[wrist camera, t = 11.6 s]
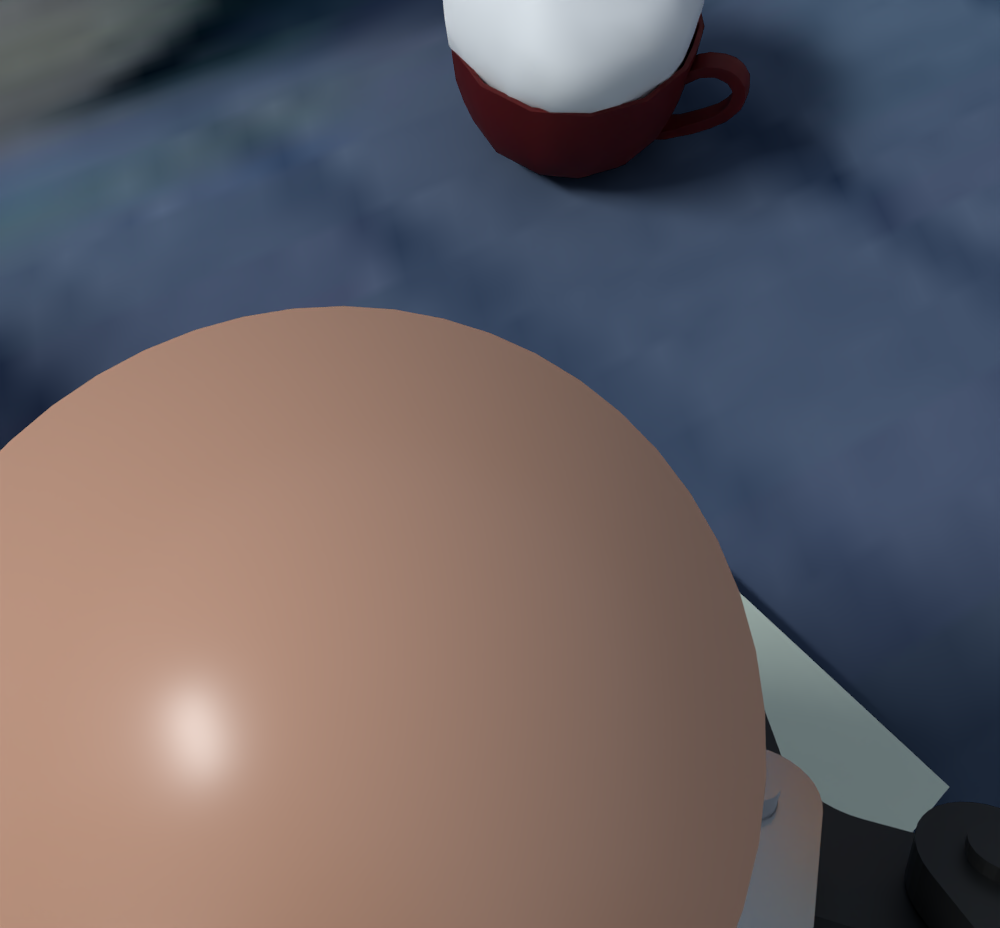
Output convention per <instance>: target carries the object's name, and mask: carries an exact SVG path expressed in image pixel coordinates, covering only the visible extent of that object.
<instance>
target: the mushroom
mask: <svg viewBox="0 0 1000 928" xmlns="http://www.w3.org/2000/svg"><path fill="white" fill-rule="evenodd" d="M765 784H766V733H765V709H764V702H763V695H762V688H761V681H760V674H759V667H758V661H757V654H756V649H755V646H754V642H753V638H752V635H751V631H750V628H749V624H748V620H747V617H746V613H745V610H744V606H743V602H742V599H741V595H740V592H739V590H738V588H737V585H736V583H735V581H734V578H733V576H732V573H731V571H730V569H729V566H728V564H727V562H726V559H725V557H724V554H723V552H722V550H721V547H720V545H719V543H718V540H717V539H716V537H715V535H714V533H713V532H712V530H711V528H710V527H709V525H708V523H707V521H706V520H705V518H704V516H703V514H702V513H701V511H700V509H699V508H698V506H697V504H696V502H695V501H694V499H693V497H692V495H691V494H690V492H689V491H688V490H687V488H686V487H685V486H684V484H683V483H682V482H681V480H680V479H679V478H678V476H677V475H676V474H675V473H674V471H673V470H672V469H671V467H670V466H669V465H668V463H667V462H666V461H665V459H664V458H663V457H662V455H661V454H660V453H659V452H658V450H657V449H656V448H655V447H654V446H653V445H652V444H651V443H650V442H649V441H648V440H647V439H646V438H645V437H644V436H643V435H642V434H641V433H640V432H639V431H638V430H637V429H636V428H635V427H634V426H633V425H632V424H631V423H630V422H629V421H628V420H627V419H626V418H625V417H624V416H623V415H622V414H621V412H619V411H618V410H617V409H616V408H614V407H613V406H612V405H610V404H609V403H608V402H607V401H605V400H604V399H603V398H602V397H600V396H599V395H598V394H597V393H595V392H594V391H593V390H591V389H590V388H589V387H588V386H586V385H585V384H584V383H583V382H581V381H580V380H579V379H577V378H575V377H574V376H572V375H570V374H569V373H567V372H565V371H564V370H562V369H560V368H559V367H557V366H555V365H554V364H552V363H550V362H549V361H547V360H546V359H544V358H542V357H541V356H539V355H537V354H535V353H533V352H531V351H529V350H526V349H524V348H522V347H520V346H518V345H515V344H513V343H511V342H509V341H506V340H504V339H502V338H500V337H498V336H495V335H493V334H491V333H488V332H485V331H481V330H478V329H475V328H472V327H468V326H465V325H462V324H459V323H456V322H452V321H449V320H446V319H443V318H437V317H432V316H426V315H421V314H416V313H410V312H405V311H399V310H394V309H379V308H364V307H348V306H338V307H317V308H297V309H288V310H282V311H276V312H270V313H264V314H257V315H251V316H245V317H241V318H237V319H234V320H230V321H226V322H223V323H219V324H216V325H212V326H208V327H205V328H201V329H198V330H194V331H191V332H189V333H186V334H184V335H181V336H179V337H176V338H174V339H171V340H169V341H166V342H164V343H161V344H159V345H156V346H154V347H151V348H149V349H146V350H144V351H142V352H140V353H138V354H136V355H135V356H133V357H131V358H129V359H127V360H125V361H123V362H121V363H119V364H118V365H116V366H114V367H112V368H110V369H108V370H106V371H104V372H102V373H101V374H99V375H97V376H95V377H94V378H92V379H91V380H90V381H88V382H87V383H85V384H84V385H82V386H81V387H79V388H78V389H76V390H75V391H73V392H72V393H70V394H69V395H67V396H66V397H64V398H63V399H61V400H60V401H58V402H57V403H55V404H54V405H52V406H51V407H50V408H49V409H48V410H46V411H45V412H44V413H43V414H42V415H40V416H39V417H38V418H37V419H36V420H34V421H33V422H32V423H31V424H30V425H29V426H27V427H26V428H25V429H24V430H23V431H21V432H20V433H19V434H18V435H17V436H15V437H14V438H13V439H12V440H11V441H9V443H8V444H7V445H6V446H5V447H4V448H3V449H2V450H1V451H0V928H736V927H737V924H738V922H739V919H740V916H741V914H742V911H743V908H744V904H745V899H746V895H747V891H748V887H749V883H750V879H751V875H752V870H753V866H754V862H755V858H756V854H757V850H758V845H759V839H760V830H761V821H762V812H763V803H764V793H765Z"/></svg>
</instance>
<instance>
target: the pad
mask: <svg viewBox="0 0 1000 928" xmlns="http://www.w3.org/2000/svg"><path fill="white" fill-rule="evenodd" d="M740 595H741V599H742V602H743V606H744V610H745V613H746V617H747V620H748V624H749V628H750V631H751V635H752V638H753V642H754V646H755V649H756V654H757V661H758V667H759V674H760V681H761V688H762V695H763V702H764V709H765V712H766V715H767V718H768V720H769V723H770V726H771V729H772V731H773V734H774V737H775V740H776V742H777V745H778V748H779V751H780V753H781V756H782V757H784V758H786V759H788V760H790V761H791V762H792V763H794V764H795V765H797V766H798V767H799V768H801V769H802V770H803V771H804V772H805V773H806V774H807V775H808V776H809V778H810V779H811V780H812V781H813V783H814V784H815V786H816V788H817V789H818V791H819V793H820V796H821V800H822V802H824V803H826V804H828V805H829V806H831V807H833V808H835V809H837V810H839V811H842V812H844V813H847V814H849V815H852V816H855V817H858V818H861V819H864V820H868V821H872V822H876V823H879V824H883V825H887V826H890V827H894V828H898V829H902V830H905V831H909V832H913V831H914V830H915V828H916V827H917V823H918V822H919V820H920V819H921V817H922V816H923V815H924V814H925V813H926V812H927V811H928V810H930V809H932V808H933V806H934V805H935V804H936V803H937V802H938V800H939V799H940V798H941V797H942V795H943V794H944V793H945V792H946V791H947V789H948V788H949V786H948V785H947V784H946V783H945V782H944V781H943V780H941V779H940V778H939V777H938V776H937V775H936V774H935V773H934V772H933V771H932V770H931V769H930V768H929V767H927V766H926V765H925V764H924V763H923V762H922V761H921V760H920V759H919V758H918V757H917V756H916V755H914V754H913V753H912V752H911V751H910V750H909V749H908V748H907V747H906V746H905V745H904V744H903V743H902V742H900V741H899V740H898V739H897V738H896V737H895V736H894V735H893V734H892V733H891V732H890V731H889V730H887V729H886V728H885V727H884V726H883V725H882V724H881V723H880V722H879V721H878V720H877V719H876V718H875V717H873V716H872V715H871V714H870V713H869V712H868V711H867V710H866V709H865V708H864V707H863V706H862V705H860V704H859V703H858V702H857V701H856V700H855V699H854V698H853V697H852V696H851V695H850V694H849V693H848V692H846V691H845V690H844V689H843V688H842V687H841V686H840V685H839V684H838V683H837V682H836V681H835V680H833V679H832V678H831V677H830V676H829V675H828V674H827V673H826V672H825V671H824V670H823V669H822V668H821V667H819V666H818V665H817V664H816V663H815V662H814V661H813V660H812V659H811V658H810V657H809V656H808V655H806V654H805V653H804V652H803V651H802V650H801V649H800V648H799V647H798V646H797V645H796V644H795V643H794V642H792V641H791V640H790V639H789V638H788V637H787V636H786V635H785V634H784V633H783V632H782V631H781V630H779V629H778V628H777V627H776V626H775V625H774V624H773V623H772V622H771V621H770V620H769V619H768V618H767V617H765V616H764V615H763V614H762V613H761V612H760V611H759V610H758V609H757V608H756V607H755V606H754V605H752V604H751V603H750V602H749V601H748V600H747V599H746V598H745V597H744V596H743V595H742V594H741V593H740Z"/></svg>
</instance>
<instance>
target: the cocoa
mask: <svg viewBox="0 0 1000 928" xmlns="http://www.w3.org/2000/svg"><path fill="white" fill-rule="evenodd" d="M703 5H704V0H443V6H444V16H445V24H446V30H447V36H448V42H449V46H450V48H451V49H452V57H453V64H454V70H455V77H456V81H457V84H458V87H459V89H460V92H461V95H462V98H463V100H464V103H465V105H466V107H467V109H468V111H469V113H470V115H471V117H472V119H473V121H474V122H475V124H476V125H477V126H478V128H479V129H480V130H481V132H482V133H483V134H484V136H485V137H486V138H487V140H488V141H489V143H490V144H491V145H492V147H493V148H494V149H495V151H496V152H498V153H499V154H501V155H503V156H505V157H507V158H509V159H511V160H513V161H515V162H516V163H518V164H520V165H522V166H524V167H526V168H528V169H530V170H532V171H534V172H536V173H537V174H539V175H548V176H558V177H568V178H581V177H585V176H589V175H592V174H596V173H599V172H603V171H607V170H610V169H614V168H617V167H619V166H622V165H625V164H626V163H627V162H628V161H630V160H631V159H632V158H633V157H634V156H636V155H637V154H638V153H639V152H641V151H642V150H643V149H644V148H645V147H647V146H648V145H649V144H650V143H651V142H653V141H654V140H657V139H669V138H674V137H679V136H684V135H689V134H694V133H697V132H700V131H703V130H707V129H710V128H712V127H714V126H717V125H719V124H722V123H724V122H726V121H727V120H729V119H730V118H731V117H733V116H734V115H735V114H736V113H737V112H738V111H740V110H741V108H742V106H743V105H744V103H745V100H746V98H747V95H748V92H749V86H750V74H749V72H748V70H747V68H746V67H745V65H744V64H743V63H742V62H741V61H740V60H739V59H737V58H736V57H733V56H731V55H728V54H723V53H714V52H708V53H702V54H698V55H696V54H697V51H698V47H699V44H700V40H701V37H702V33H703V30H704V23H703V18H702V14H701V11H702V8H703ZM699 78H717V79H719V80H722V81H724V82H725V83H727V84H728V85H729V87H730V88H731V90H732V94H731V95H730V96H729V97H728V98H726V99H724V100H723V101H721V102H720V103H718V104H715V105H712V106H709V107H706V108H702V109H699V110H695V111H691V112H687V113H684V114H672V113H673V111H674V109H675V107H676V105H677V103H678V101H679V99H680V96H681V94H682V91H683V89H684V86H685V84H687V83H689V82H692V81H694V80H696V79H699Z"/></svg>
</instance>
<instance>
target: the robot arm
mask: <svg viewBox="0 0 1000 928" xmlns="http://www.w3.org/2000/svg"><path fill="white" fill-rule="evenodd" d="M765 733H766V784H765V793H764V803H763V812H762V821H761V830H760V839H759V845H758V850H757V854H756V858H755V862H754V866H753V870H752V875H751V879H750V883H749V887H748V891H747V895H746V899H745V904H744V908H743V911H742V914H741V916H740V919H739V922H738V924H737V927H736V928H1000V808H998V807H994V806H990V805H986V804H980V803H974V802H953V803H946V804H942V805H939V806H936V807H934V808H932V809H930V810H928V811H927V812H926V813H925V814H924V815H923V816H922V817H921V819H920V820H919V822H918V823H917V827H916V831H915V833H913V832H909V831H905V830H902V829H898V828H894V827H890V826H887V825H883V824H879V823H876V822H872V821H868V820H864V819H861V818H858V817H855V816H852V815H849V814H847V813H844V812H842V811H839V810H837V809H835V808H833V807H831V806H829V805H828V804H826V803H824V802H822V800H821V796H820V793H819V791H818V789H817V788H816V786H815V784H814V783H813V781H812V780H811V779H810V778H809V776H808V775H807V774H806V773H805V772H804V771H803V770H802V769H801V768H799V767H798V766H797V765H795V764H794V763H792V762H791V761H790V760H788V759H786V758H784V757H782V756H781V753H780V751H779V748H778V745H777V742H776V740H775V737H774V734H773V731H772V729H771V726H770V723H769V720H768V718H767V715H766V712H765Z"/></svg>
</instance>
